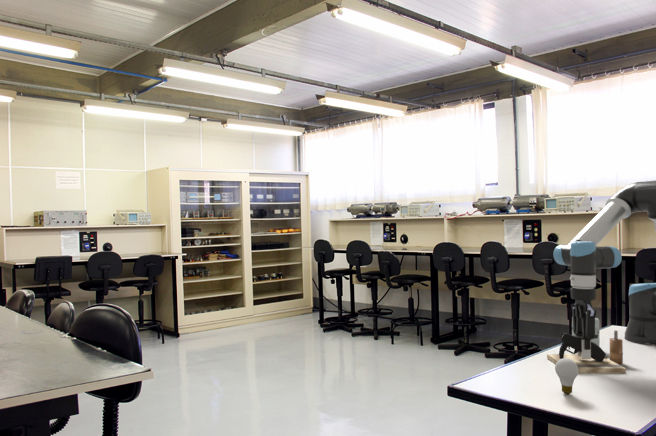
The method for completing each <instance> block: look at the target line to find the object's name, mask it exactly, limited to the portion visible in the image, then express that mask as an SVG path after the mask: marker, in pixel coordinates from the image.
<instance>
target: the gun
mask: <svg viewBox="0 0 656 436" xmlns="http://www.w3.org/2000/svg"><path fill="white" fill-rule="evenodd" d="M581 338H583V337H579V336H573V335H572V334H569V333H568V332H562V333H561V336H560V341H561V344H560V347H559V352H558V354H559V357H560V359H563V358H564V354H566V353H565V352H566V351H567V352H568V353H569V354H577V352H578V351H579V352H581V353H582V340H581ZM570 348H571V349H573V350H574V351H571V349H570ZM608 357H609V356H608V355H607V354H606V352H605V351H604V350H603V349H602V347H601V346H600V347H599V346H598V345H597V344H596V343H594V342H592V341H591V358H593V359H594V360H596V361H598V362H602V361H603V360H604V359H609V358H608Z"/></svg>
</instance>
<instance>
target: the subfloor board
mask: <svg viewBox="0 0 656 436" xmlns="http://www.w3.org/2000/svg"><path fill="white" fill-rule="evenodd" d="M546 354H547V355H546V358H547V360H549V361H550V362H552V363H553V364H555V365H556V363H557V362H558V361H559V360H560V357H559V353H546ZM564 358H568V359H571V360H573V361H574V362H575V363H576V364H577V366H578V374H580V373H581V374H585V373H586V374H627V368H626V367H624V366H623V365H622V364H621V365H619V364H617V363H615V362H613V361H611V360H610V358H607V359H604V360H603V361H602V362H598V361H596V360H594V359H593V358H591V359H581V356H577V353H576V354H572V353H565V354H564Z"/></svg>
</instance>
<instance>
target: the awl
mask: <svg viewBox="0 0 656 436" xmlns="http://www.w3.org/2000/svg"><path fill="white" fill-rule="evenodd" d="M613 333H614V334H613V338H609V360H611V361H613V362H615V363H617V364H619V365H621V366H622V365H623V364H624V360H623V359H624V358H623V357H624V355H623V347H624V346H623V344H624V343H623V339H622V338H619V337H618V336H619V335H618V330H616V329H615V330H614V331H613Z"/></svg>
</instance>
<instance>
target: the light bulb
mask: <svg viewBox="0 0 656 436" xmlns="http://www.w3.org/2000/svg"><path fill="white" fill-rule="evenodd" d="M554 370H555V373H556V375H557V376H558V378H559V382H560V384H561V385H560V386H561V392H562V393H563V394H564V395H567V396H568V395H571V394H572V393H573V385H574V383H575V382H574V381H575V379H576V378H577V377H578V375H579V373H578V366H577V364H576V363H575V362H574V361H573V360H571V359H568V358H563V359H560V360H559V361H558V362H557V363H556V364H555V365H554Z"/></svg>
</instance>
